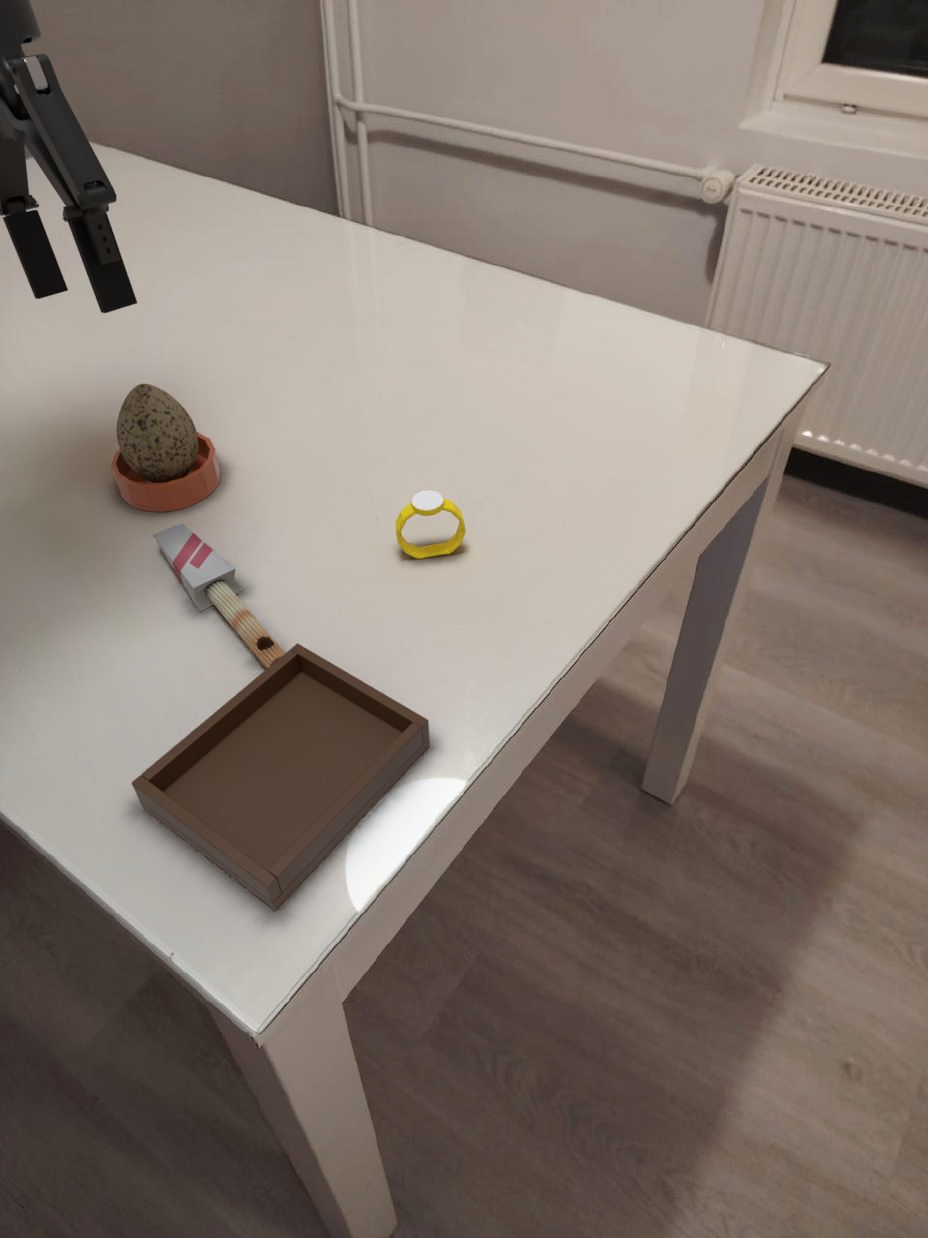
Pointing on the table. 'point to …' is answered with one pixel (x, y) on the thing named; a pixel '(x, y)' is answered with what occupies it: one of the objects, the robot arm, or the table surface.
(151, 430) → the decorative egg
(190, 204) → the table surface
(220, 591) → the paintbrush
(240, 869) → the tray
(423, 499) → the watch
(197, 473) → the shallow dish
